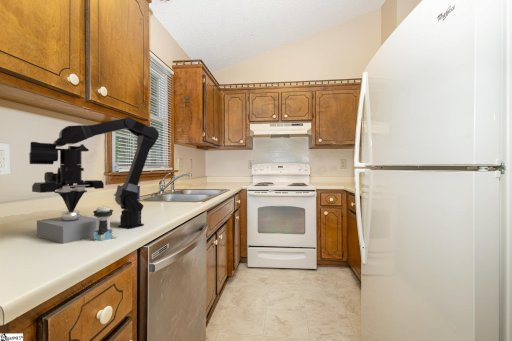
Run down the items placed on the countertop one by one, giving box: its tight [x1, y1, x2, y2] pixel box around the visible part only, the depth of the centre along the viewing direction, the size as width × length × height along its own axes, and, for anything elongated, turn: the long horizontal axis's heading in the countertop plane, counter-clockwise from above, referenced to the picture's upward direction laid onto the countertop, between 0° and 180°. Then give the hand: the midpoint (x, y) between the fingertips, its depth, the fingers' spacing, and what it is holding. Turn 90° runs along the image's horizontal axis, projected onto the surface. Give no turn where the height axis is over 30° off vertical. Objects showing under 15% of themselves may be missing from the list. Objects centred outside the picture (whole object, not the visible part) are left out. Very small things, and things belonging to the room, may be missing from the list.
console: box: [36, 214, 100, 244], centre depth 84 cm, size 12×16×5 cm
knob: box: [61, 210, 81, 221], centre depth 84 cm, size 5×5×8 cm
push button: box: [92, 206, 118, 242], centre depth 80 cm, size 7×5×10 cm
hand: (71, 211), depth 84 cm, fingers closed, pressing on knob
